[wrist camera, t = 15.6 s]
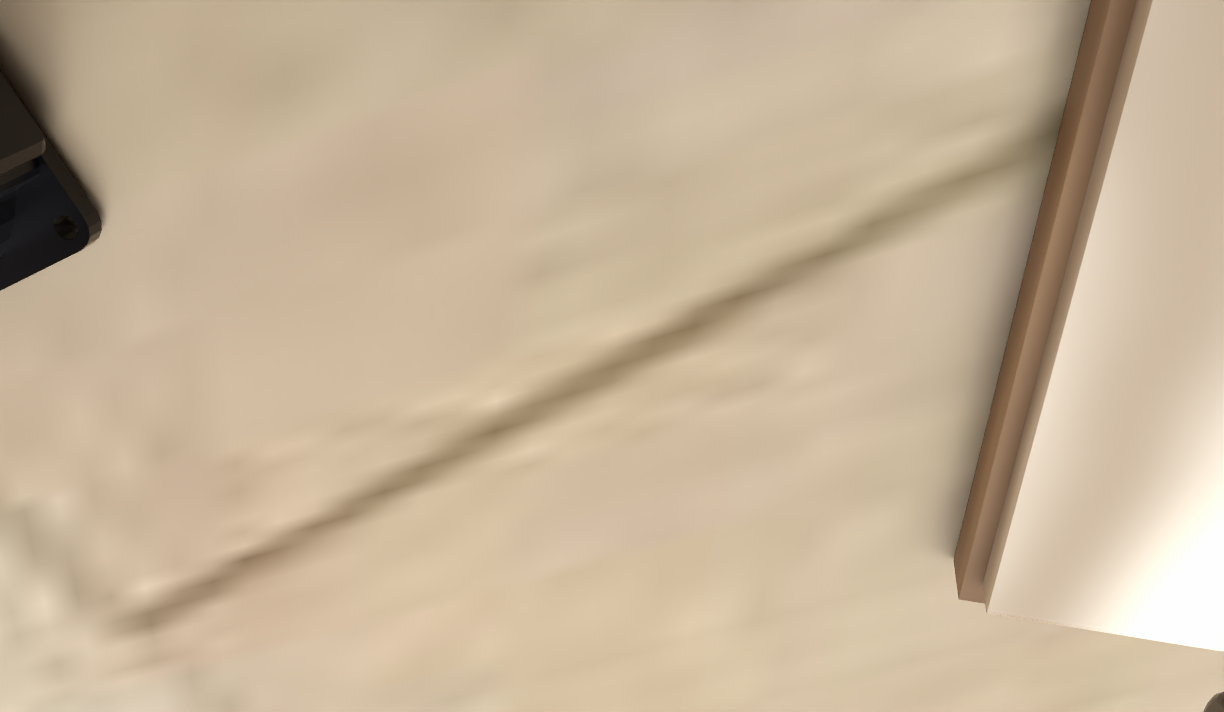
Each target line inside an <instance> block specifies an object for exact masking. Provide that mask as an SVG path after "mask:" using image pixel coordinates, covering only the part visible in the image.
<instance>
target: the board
mask: <svg viewBox="0 0 1224 712" xmlns="http://www.w3.org/2000/svg"><path fill="white" fill-rule="evenodd" d="M954 567H955V574H956V582H957V590H958V597H959V599H961V600H967V601H973V602H979V603H985V605H986V611H987V613H988V614H994V615H1000V616H1007V617H1013V618H1019V619H1025V620H1031V621H1038V622H1044V623H1050V624H1056V625H1062V626H1069V627H1075V628H1081V629H1087V630H1093V631H1099V632H1106V633H1112V634H1118V635H1124V636H1130V637H1137V638H1143V639H1149V640H1155V641H1161V642H1168V643H1174V644H1180V645H1186V646H1192V647H1199V648H1205V649H1211V650H1217V651H1223V652H1224V0H1092V1H1091V5H1090V9H1089V13H1088V17H1087V21H1086V25H1085V29H1084V33H1083V37H1082V41H1081V46H1080V50H1079V54H1078V58H1077V62H1076V66H1075V70H1074V74H1073V78H1072V82H1071V86H1070V90H1069V94H1068V98H1067V102H1066V106H1065V111H1064V115H1063V119H1062V123H1061V127H1060V131H1059V135H1058V139H1057V143H1056V147H1055V151H1054V155H1053V159H1052V163H1051V167H1050V171H1049V175H1048V180H1047V184H1046V188H1045V192H1044V196H1043V200H1042V204H1041V208H1040V212H1039V216H1038V220H1037V224H1036V228H1035V232H1034V236H1033V240H1032V244H1031V249H1030V253H1029V257H1028V261H1027V265H1026V269H1025V273H1024V277H1023V281H1022V285H1021V289H1020V293H1019V297H1018V301H1017V305H1016V309H1015V313H1014V318H1013V322H1012V326H1011V330H1010V334H1009V338H1008V342H1007V346H1006V350H1005V354H1004V358H1003V362H1002V366H1001V370H1000V374H999V378H998V382H997V387H996V391H995V395H994V399H993V403H992V407H991V411H990V415H989V419H988V423H987V427H986V431H985V435H984V439H983V443H982V447H981V451H980V456H979V460H978V464H977V468H976V472H975V476H974V480H973V484H972V488H971V492H970V496H969V500H968V504H967V508H966V512H965V516H964V521H963V525H962V529H961V533H960V537H959V541H958V545H957V549H956V553H955V557H954Z"/></svg>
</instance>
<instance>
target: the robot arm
mask: <svg viewBox="0 0 1224 712" xmlns="http://www.w3.org/2000/svg"><path fill="white" fill-rule="evenodd" d="M66 216H67V217H69V218H71V219H72V220H73V221H74V222H75V223H76V226H77V228H78V232H76V231H74V230H73V229H72V228H71V227H69V226H68V223H67V221H66ZM101 230H102V228H101V220H100V218H99V216H98V214H97V212H96V210H95V209H94V207H93V206H92V204H91V203H90V201H89V200H88V198H87V197H86V195H85V194H84V192H83V191H82V189H81V188H80V186H79V185H78V184H77V182H76V181H75V179H74V178H73V176H72V175H71V173H70V172H69V170H68V169H67V167H66V166H65V164H64V163H63V161H62V160H61V158H60V157H59V156H58V154H57V153H56V151H55V150H54V148H53V147H52V145H51V144H50V142H49V141H48V139H47V138H46V136H45V135H44V133H43V132H42V130H41V129H40V127H39V126H38V125H37V123H36V122H35V120H34V119H33V117H32V116H31V114H30V113H29V111H28V110H27V108H26V107H25V105H24V104H23V102H22V101H21V99H20V98H19V97H18V95H17V94H16V92H15V91H14V89H13V88H12V86H11V85H10V83H9V82H8V80H7V79H6V77H5V76H4V74H3V73H2V71H1V70H0V290H2V289H4V288H6V287H8V286H10V285H12V284H14V283H16V282H18V281H20V280H23V279H25V278H27V277H29V276H31V275H33V274H35V273H37V272H39V271H41V270H43V269H45V268H47V267H49V266H51V265H53V264H55V263H57V262H59V261H61V260H63V259H65V258H67V257H69V256H71V255H73V254H75V253H77V252H79V251H81V250H82V249H84V248H86V247H87V246H89V245H90V244H92V243H93V242H95V241H96V240H97V239H98V238H99V236H100V233H101ZM1204 712H1224V692H1221V693H1218V694H1216V695H1214V696H1213V697H1212V698H1211V700H1210V701H1209V702H1208V704H1207V705H1206V707H1205V709H1204Z"/></svg>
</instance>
